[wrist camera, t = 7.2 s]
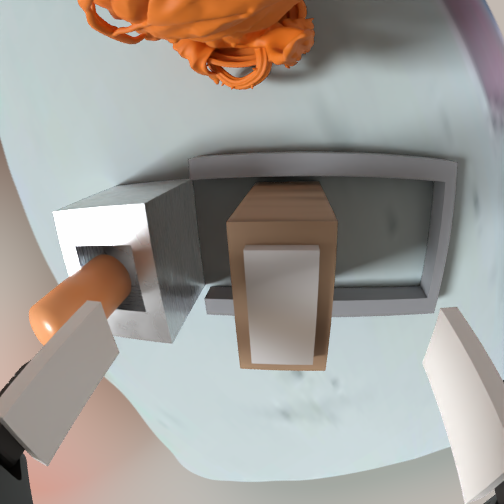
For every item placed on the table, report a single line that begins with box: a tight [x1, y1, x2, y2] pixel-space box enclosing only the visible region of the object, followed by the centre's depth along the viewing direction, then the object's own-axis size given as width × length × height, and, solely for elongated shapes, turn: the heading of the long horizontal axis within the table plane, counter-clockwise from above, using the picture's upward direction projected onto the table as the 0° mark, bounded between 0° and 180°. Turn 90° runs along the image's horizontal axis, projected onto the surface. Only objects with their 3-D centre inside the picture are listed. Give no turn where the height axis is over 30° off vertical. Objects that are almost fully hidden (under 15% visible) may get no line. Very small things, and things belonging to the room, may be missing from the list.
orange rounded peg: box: [29, 254, 131, 345], centre depth 14 cm, size 3×3×6 cm
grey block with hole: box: [54, 179, 205, 343], centre depth 21 cm, size 9×7×8 cm
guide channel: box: [188, 151, 457, 317], centre depth 22 cm, size 12×19×2 cm, turn 93°
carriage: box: [226, 181, 338, 371], centre depth 18 cm, size 8×4×11 cm, turn 3°
